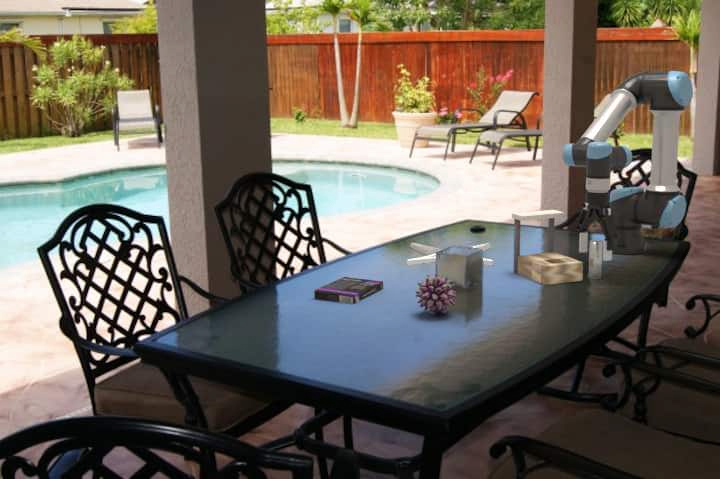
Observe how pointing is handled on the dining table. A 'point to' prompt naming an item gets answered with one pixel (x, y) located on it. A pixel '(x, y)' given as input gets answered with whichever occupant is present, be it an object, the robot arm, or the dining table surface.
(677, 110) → the robot arm
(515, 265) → the miniature white table
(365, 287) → the box
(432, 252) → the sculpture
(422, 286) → the purple spiky ball
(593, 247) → the peg
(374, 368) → the dining table surface
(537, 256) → the socket block
